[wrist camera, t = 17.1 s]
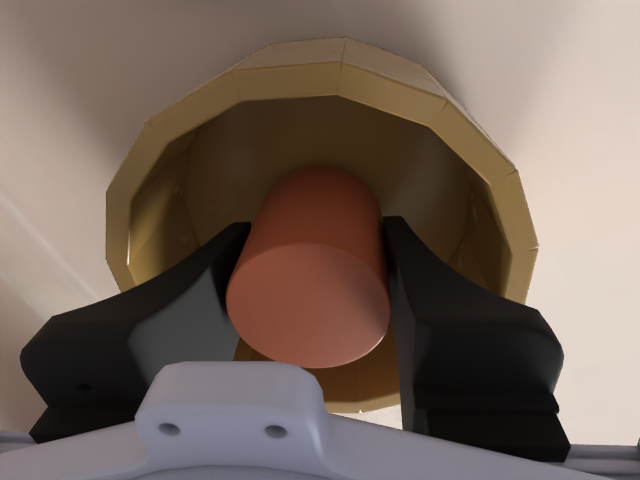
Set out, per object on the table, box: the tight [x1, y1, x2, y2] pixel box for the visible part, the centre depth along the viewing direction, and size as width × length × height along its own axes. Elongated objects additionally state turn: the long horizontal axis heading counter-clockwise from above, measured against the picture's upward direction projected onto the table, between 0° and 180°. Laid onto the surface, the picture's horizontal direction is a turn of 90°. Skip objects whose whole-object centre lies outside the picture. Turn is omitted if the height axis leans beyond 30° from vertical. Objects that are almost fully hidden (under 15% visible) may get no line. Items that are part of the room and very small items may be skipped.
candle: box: [225, 166, 392, 368], centre depth 13 cm, size 5×5×5 cm
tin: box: [106, 37, 539, 413], centre depth 14 cm, size 12×12×5 cm
